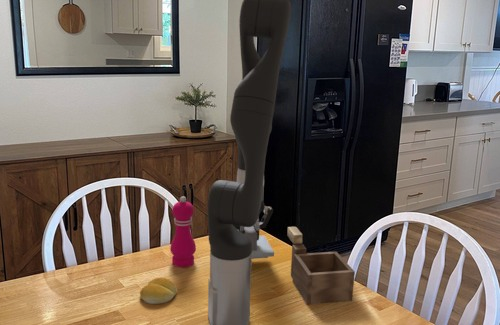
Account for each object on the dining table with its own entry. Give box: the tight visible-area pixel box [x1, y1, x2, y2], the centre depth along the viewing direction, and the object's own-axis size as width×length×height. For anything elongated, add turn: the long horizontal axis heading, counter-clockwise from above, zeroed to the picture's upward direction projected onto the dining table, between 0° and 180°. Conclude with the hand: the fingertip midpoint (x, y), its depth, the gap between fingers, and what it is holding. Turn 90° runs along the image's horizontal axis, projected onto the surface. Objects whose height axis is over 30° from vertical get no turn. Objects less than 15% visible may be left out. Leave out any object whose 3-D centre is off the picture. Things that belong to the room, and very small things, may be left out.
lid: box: [244, 225, 275, 260], centre depth 140 cm, size 12×12×7 cm
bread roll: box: [139, 277, 178, 305], centre depth 123 cm, size 8×9×4 cm
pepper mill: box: [170, 195, 197, 268], centre depth 140 cm, size 7×7×20 cm
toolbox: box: [290, 243, 356, 306], centre depth 129 cm, size 12×15×9 cm
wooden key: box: [286, 226, 303, 245], centre depth 137 cm, size 2×6×2 cm, turn 12°
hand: (248, 241), depth 140 cm, fingers closed on lid, 3 cm apart
